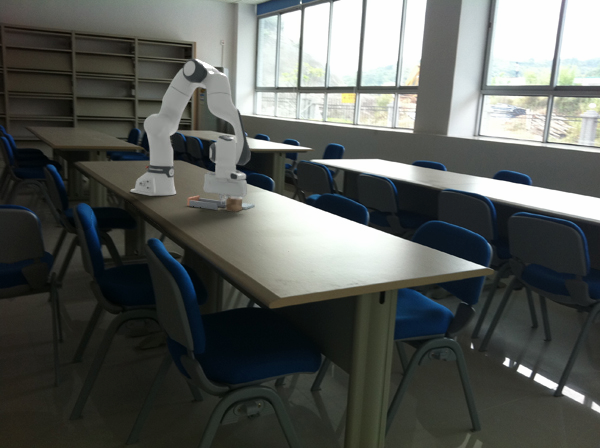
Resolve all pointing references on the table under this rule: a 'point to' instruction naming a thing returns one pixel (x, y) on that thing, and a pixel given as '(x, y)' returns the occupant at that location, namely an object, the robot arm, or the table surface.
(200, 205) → the channel
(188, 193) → the table surface
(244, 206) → the tile
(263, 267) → the table surface
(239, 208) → the block
